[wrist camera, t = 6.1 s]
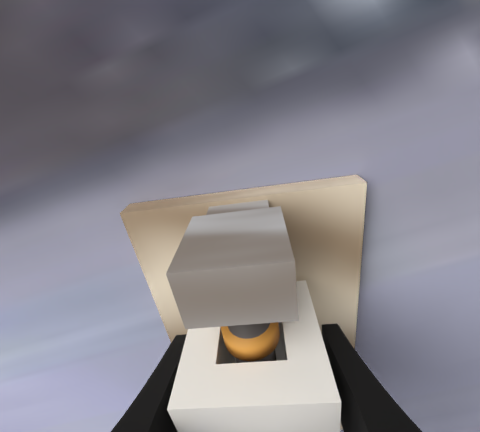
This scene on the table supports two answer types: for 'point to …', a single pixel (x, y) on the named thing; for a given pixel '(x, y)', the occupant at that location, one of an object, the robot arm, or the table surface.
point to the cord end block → (258, 382)
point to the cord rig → (253, 259)
